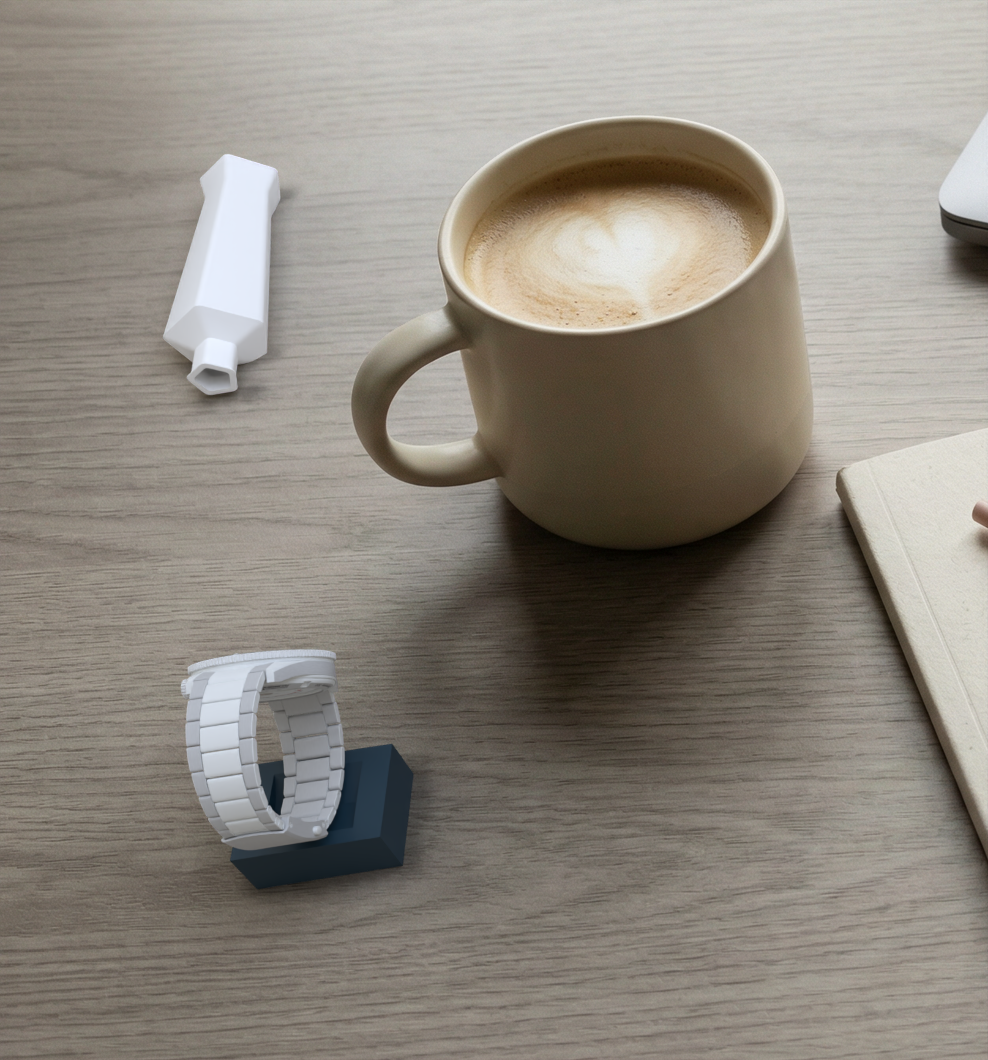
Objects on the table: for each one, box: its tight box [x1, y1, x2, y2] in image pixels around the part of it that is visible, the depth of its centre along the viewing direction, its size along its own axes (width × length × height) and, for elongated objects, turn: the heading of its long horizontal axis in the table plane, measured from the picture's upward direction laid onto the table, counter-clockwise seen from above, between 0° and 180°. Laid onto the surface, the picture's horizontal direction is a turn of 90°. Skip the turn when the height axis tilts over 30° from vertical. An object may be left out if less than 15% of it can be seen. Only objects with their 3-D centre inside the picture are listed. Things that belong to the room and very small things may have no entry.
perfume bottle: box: [162, 153, 282, 396], centre depth 87 cm, size 5×4×15 cm
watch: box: [180, 648, 415, 890], centre depth 65 cm, size 6×8×11 cm
